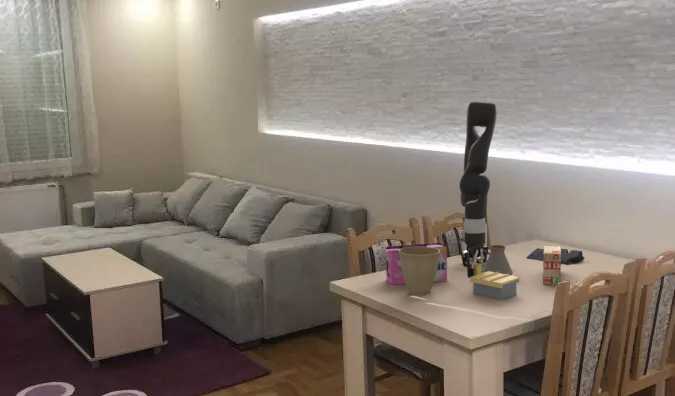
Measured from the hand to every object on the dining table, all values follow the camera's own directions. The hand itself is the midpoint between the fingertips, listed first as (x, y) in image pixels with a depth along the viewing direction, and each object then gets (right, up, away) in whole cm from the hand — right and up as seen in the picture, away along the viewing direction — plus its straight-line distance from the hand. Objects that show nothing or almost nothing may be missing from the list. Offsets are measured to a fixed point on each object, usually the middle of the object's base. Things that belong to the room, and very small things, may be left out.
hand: (474, 276), depth 260 cm
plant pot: (-20, -6, +1) cm, 21 cm away
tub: (+6, -6, -5) cm, 10 cm away
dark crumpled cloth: (+44, +2, +47) cm, 65 cm away
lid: (+4, -1, -5) cm, 7 cm away
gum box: (-19, -4, +19) cm, 27 cm away
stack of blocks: (+33, -3, +17) cm, 37 cm away
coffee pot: (+8, -3, +19) cm, 21 cm away
